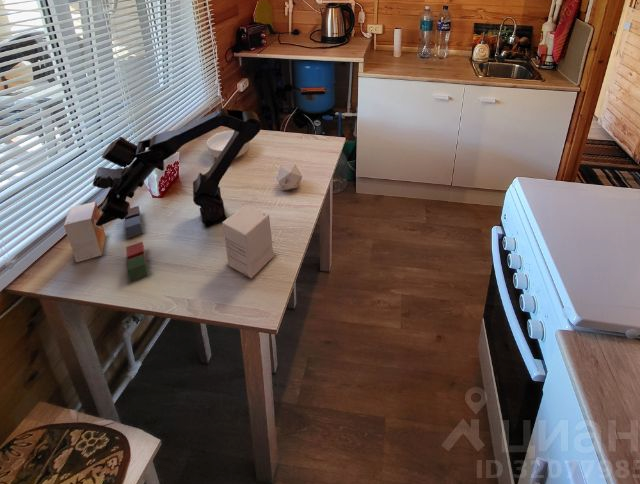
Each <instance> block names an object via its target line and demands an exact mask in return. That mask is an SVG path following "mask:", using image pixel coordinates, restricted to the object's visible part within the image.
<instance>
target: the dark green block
mask: <svg viewBox="0 0 640 484" xmlns="http://www.w3.org/2000/svg"><path fill="white" fill-rule="evenodd" d="M126 270H127V274H128V278H129V282H130V283H131V282H135V281H137V280H139V279H142V278H144V277H148V276H149V273H148V266H147V260H146V261H145V257H144V254H142V255H140V256H137V257H134V258H131V259H129V260H127V259H126Z"/></svg>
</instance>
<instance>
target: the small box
mask: <svg viewBox="0 0 640 484" xmlns="http://www.w3.org/2000/svg"><path fill="white" fill-rule="evenodd" d="M100 216H101V214H100V211H99V208H98V204H97V201H93V202H88V203H87V202H86V203H84V204H83V203H82V204H78V205H74V206H71V207H70V208H69V210H68V213H67V215H66V217H65V221H64V224H63V228H64V230H65V233H66V236H67V239H68V242H69V246H70V248H71V251H72V254H73V258H74V260H75V263H79V262H82V261H86V260H90V259H93V258H97V257H100V256H103V251H104V246H105V241H106V239H107V236H106V232H105V229H104V224H103V225H101V226H97V225H96V223H97V221H98V219H99V218H100Z"/></svg>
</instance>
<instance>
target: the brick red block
mask: <svg viewBox="0 0 640 484" xmlns="http://www.w3.org/2000/svg"><path fill="white" fill-rule="evenodd" d="M125 251H126V261H127V260H129V259H131V258H134V257H137V256H140V255H142V254H144V257H145V261H146V262H147V257H146V256H147V255H146V249H145V246H144V242H143V241H139V242H137V243H134V244H131V245H128V246H126V247H125Z"/></svg>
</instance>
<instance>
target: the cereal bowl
mask: <svg viewBox="0 0 640 484" xmlns="http://www.w3.org/2000/svg"><path fill="white" fill-rule="evenodd" d="M233 133H234V130H232V129H230V130H224V131H220V132H217V133H215V134H213V135H211V136H210V137H209V138H208V139H207V141H206V148H207V151H208V153H209V154H210V155H211V156H212V157H214V158H215V159H217V158H218V157H219V155H220V154H221V152H222V151H223V149H224V148H225V146H226V145H227V143H228V142H229V140H230V139H231V137H232V136H233ZM250 144H251V141H249V142H247V143H246V144H245V145H244V146H243V147H242V149H241V150H240V152H239V153H238V155H237V156H236V158H238V157H241V156H243V155H244V154H245V153H246V152H247V151H248V150H249V148H250Z"/></svg>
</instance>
